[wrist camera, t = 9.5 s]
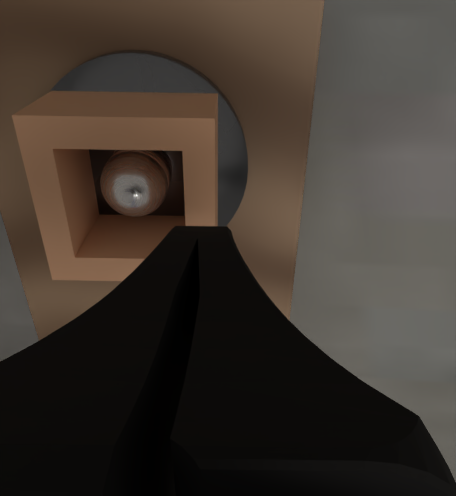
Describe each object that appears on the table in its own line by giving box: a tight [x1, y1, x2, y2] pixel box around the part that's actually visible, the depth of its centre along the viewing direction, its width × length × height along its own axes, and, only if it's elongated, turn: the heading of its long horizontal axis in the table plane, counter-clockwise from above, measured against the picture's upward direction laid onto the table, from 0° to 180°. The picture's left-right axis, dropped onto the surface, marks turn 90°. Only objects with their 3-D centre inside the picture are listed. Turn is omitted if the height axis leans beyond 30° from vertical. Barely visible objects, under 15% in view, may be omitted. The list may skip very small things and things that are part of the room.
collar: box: [12, 91, 218, 281], centre depth 14 cm, size 5×5×3 cm
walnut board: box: [0, 0, 324, 341], centre depth 19 cm, size 20×12×2 cm, turn 179°
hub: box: [50, 50, 248, 226], centre depth 15 cm, size 8×8×3 cm
